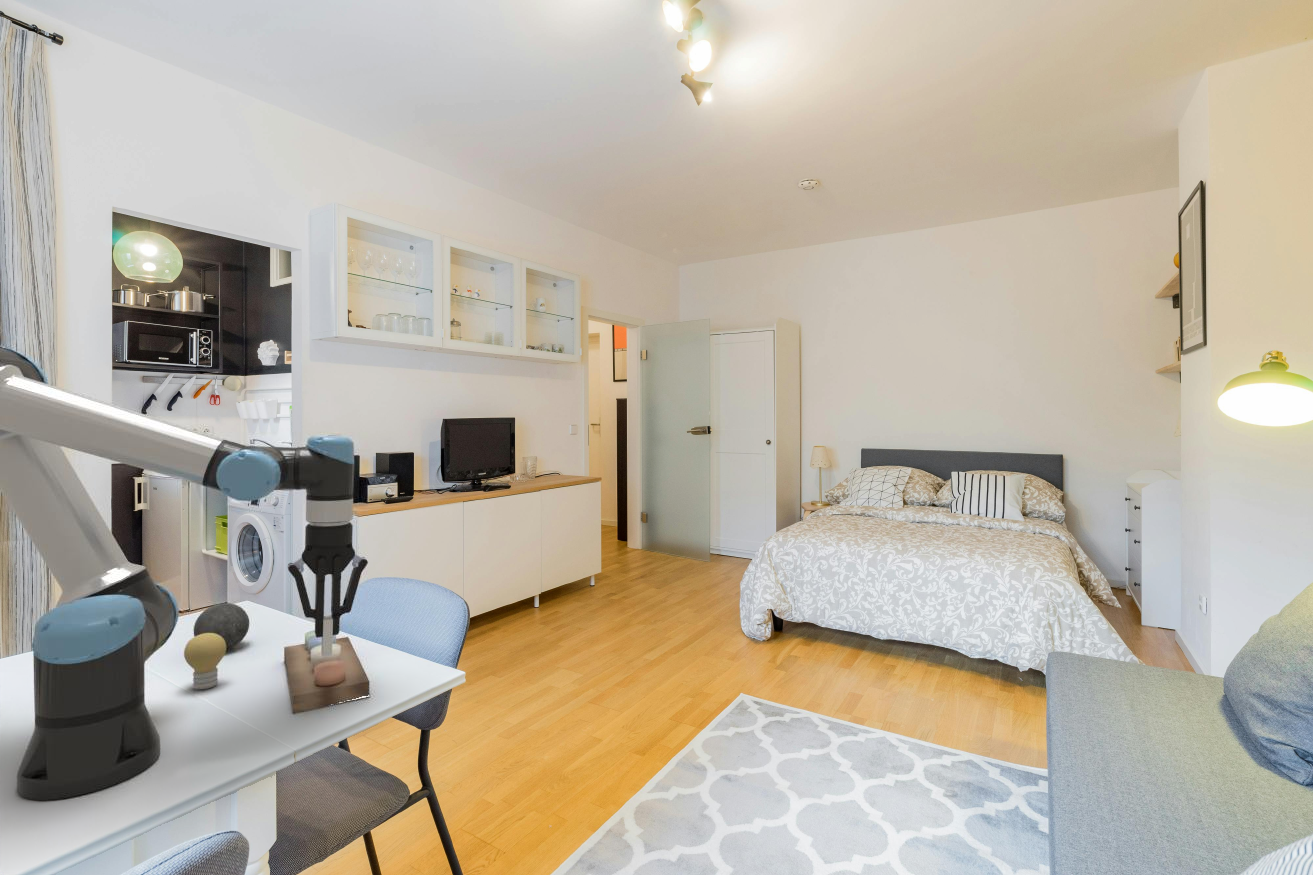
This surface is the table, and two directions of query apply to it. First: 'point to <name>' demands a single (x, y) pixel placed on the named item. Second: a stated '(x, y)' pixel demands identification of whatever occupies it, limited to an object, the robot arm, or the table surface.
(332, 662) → the terracotta button
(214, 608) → the decorative ball
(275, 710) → the table surface
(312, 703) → the button board
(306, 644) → the sage button
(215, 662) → the light bulb
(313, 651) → the cream button
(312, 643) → the slate button
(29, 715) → the table surface
